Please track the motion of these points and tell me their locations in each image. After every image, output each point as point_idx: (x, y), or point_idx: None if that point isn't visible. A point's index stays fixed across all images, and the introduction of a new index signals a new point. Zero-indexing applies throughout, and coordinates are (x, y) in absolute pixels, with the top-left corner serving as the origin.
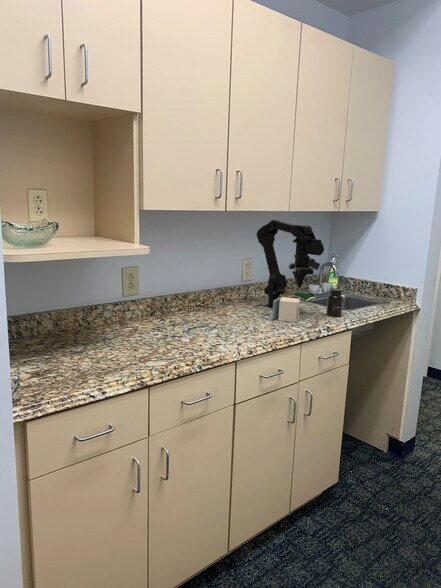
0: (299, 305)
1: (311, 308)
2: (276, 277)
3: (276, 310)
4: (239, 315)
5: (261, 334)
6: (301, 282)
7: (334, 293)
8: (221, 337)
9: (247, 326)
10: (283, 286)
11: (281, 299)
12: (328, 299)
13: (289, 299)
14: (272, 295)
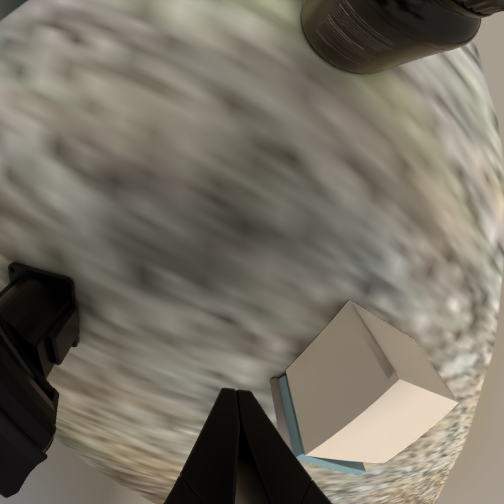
0: (379, 345)
1: (100, 63)
2: (13, 486)
3: None
4: None
5: (434, 436)
6: (288, 463)
7: (489, 15)
8: (402, 476)
9: None
10: (3, 377)
11: (361, 458)
12: (410, 44)
13: (382, 432)
14: (46, 377)
